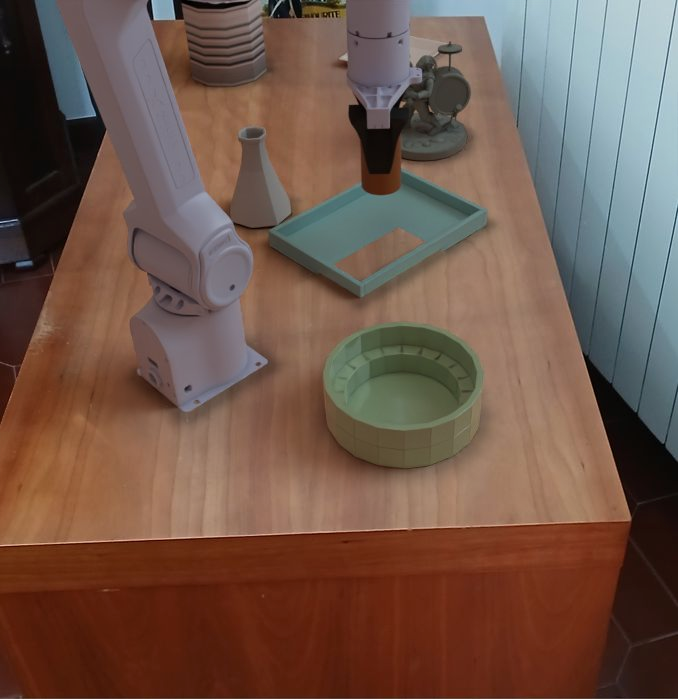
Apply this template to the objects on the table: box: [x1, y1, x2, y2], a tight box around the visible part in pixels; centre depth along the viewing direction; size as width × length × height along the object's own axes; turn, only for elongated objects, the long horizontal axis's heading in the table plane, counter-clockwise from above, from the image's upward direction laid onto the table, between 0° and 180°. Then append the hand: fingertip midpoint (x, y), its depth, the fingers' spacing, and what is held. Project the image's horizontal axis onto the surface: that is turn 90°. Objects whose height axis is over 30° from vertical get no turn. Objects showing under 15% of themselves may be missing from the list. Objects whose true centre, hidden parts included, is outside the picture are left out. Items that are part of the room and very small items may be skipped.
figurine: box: [401, 41, 472, 161], centre depth 112 cm, size 11×11×12 cm
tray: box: [267, 167, 489, 299], centre depth 100 cm, size 19×14×2 cm
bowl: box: [322, 320, 485, 469], centre depth 78 cm, size 13×13×5 cm
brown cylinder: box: [359, 134, 402, 195], centre depth 90 cm, size 4×4×10 cm
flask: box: [229, 125, 292, 229], centre depth 101 cm, size 7×7×10 cm
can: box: [180, 0, 268, 88], centre depth 130 cm, size 11×11×12 cm
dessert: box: [338, 35, 449, 68], centre depth 133 cm, size 12×12×5 cm
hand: (379, 160), depth 92 cm, fingers closed on brown cylinder, 4 cm apart
